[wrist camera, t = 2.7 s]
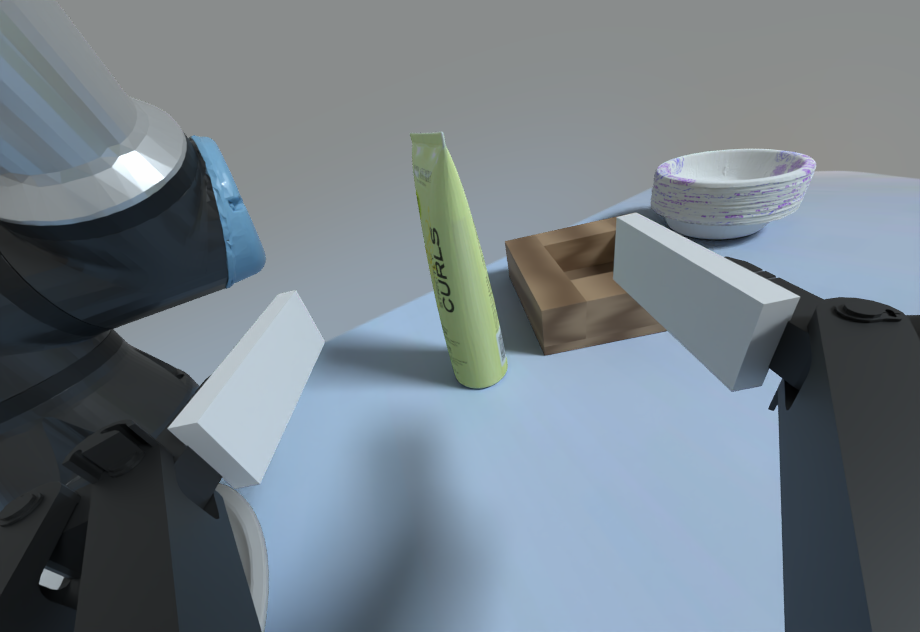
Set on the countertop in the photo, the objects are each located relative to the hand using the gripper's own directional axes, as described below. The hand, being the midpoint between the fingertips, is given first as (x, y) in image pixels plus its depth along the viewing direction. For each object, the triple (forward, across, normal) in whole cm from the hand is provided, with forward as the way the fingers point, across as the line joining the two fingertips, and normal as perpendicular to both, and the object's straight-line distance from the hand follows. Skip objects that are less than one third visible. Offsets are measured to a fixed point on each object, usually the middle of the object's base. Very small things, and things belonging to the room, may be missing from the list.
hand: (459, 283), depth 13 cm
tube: (+10, 0, -15) cm, 18 cm away
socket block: (+18, +14, -14) cm, 27 cm away
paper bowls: (+28, +34, -15) cm, 46 cm away
